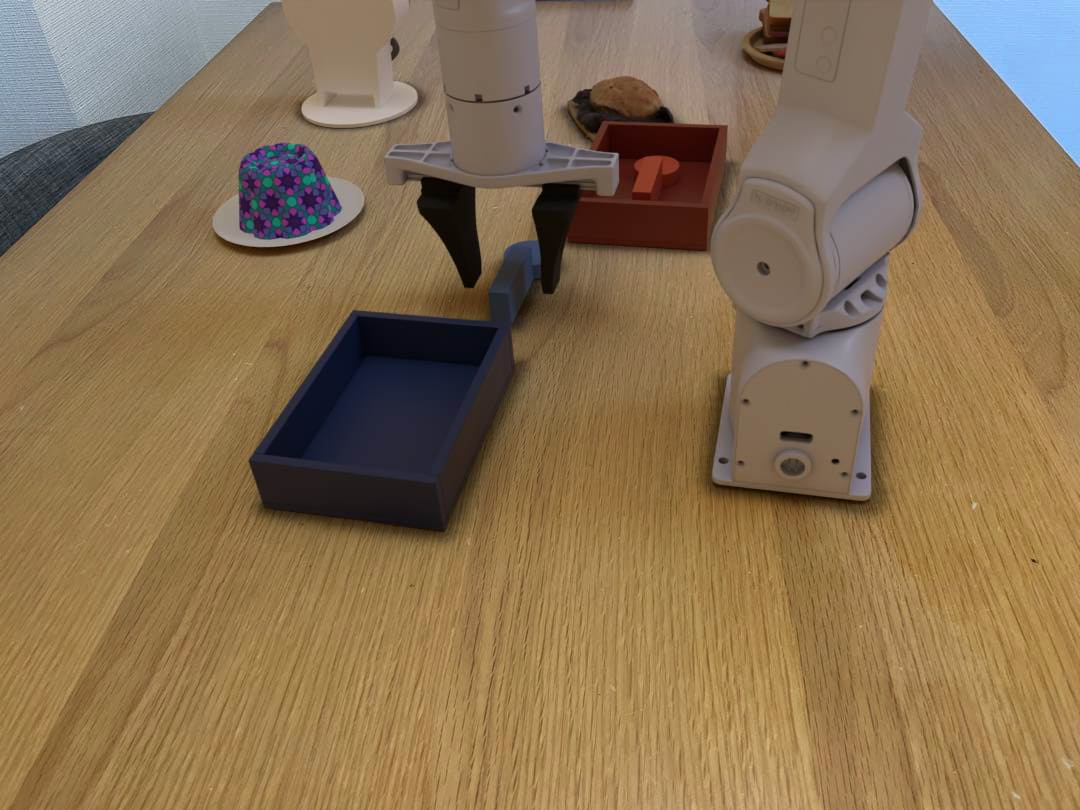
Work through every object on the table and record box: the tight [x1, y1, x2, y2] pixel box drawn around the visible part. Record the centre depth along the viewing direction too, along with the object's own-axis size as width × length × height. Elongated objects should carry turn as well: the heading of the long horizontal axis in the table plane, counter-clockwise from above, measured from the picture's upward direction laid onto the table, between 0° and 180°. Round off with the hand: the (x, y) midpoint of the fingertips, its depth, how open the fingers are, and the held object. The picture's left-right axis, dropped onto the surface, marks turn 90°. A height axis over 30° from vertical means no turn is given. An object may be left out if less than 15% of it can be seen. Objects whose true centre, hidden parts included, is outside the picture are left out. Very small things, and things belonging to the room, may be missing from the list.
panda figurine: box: [280, 0, 419, 129], centre depth 92 cm, size 12×11×15 cm
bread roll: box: [566, 75, 675, 142], centre depth 88 cm, size 11×8×4 cm
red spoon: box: [632, 156, 680, 201], centre depth 76 cm, size 9×4×3 cm, turn 166°
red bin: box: [567, 121, 729, 251], centre depth 76 cm, size 14×10×3 cm
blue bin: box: [247, 309, 516, 532], centre depth 56 cm, size 14×10×3 cm
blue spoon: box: [487, 239, 541, 327], centre depth 68 cm, size 9×4×3 cm, turn 166°
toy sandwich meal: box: [741, 0, 795, 71], centre depth 99 cm, size 12×14×5 cm
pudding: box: [211, 142, 365, 248], centre depth 77 cm, size 12×12×5 cm
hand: (511, 283), depth 66 cm, fingers open, 5 cm apart
